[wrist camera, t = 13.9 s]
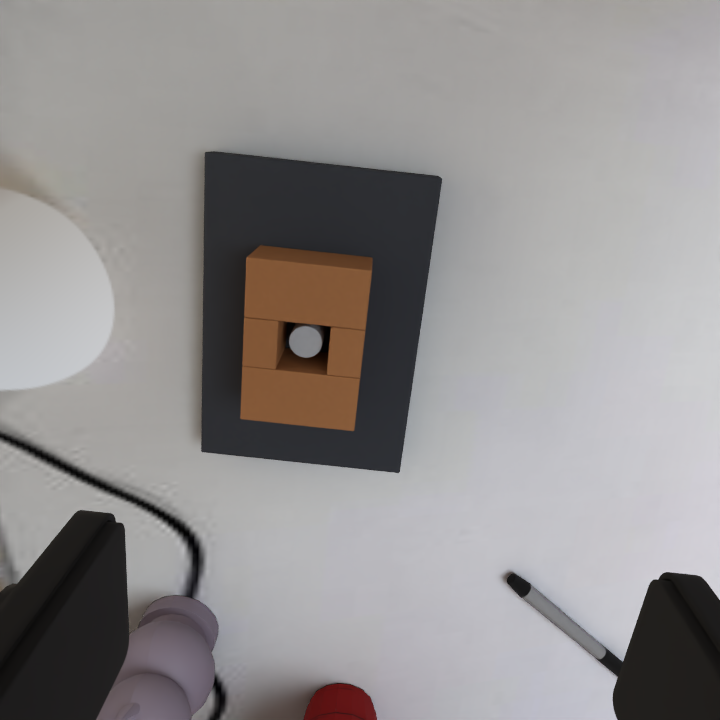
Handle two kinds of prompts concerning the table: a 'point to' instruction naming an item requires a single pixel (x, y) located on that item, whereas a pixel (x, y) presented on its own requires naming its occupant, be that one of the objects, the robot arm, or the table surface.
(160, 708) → the cat figurine
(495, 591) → the table surface
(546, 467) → the table surface
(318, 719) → the plastic cup
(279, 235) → the charcoal back pad
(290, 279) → the brown block with hole
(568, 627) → the pen
